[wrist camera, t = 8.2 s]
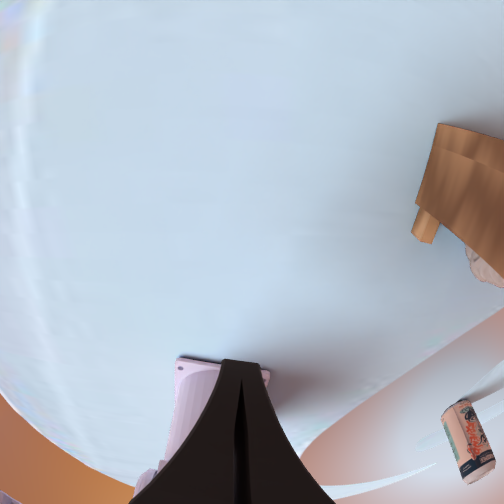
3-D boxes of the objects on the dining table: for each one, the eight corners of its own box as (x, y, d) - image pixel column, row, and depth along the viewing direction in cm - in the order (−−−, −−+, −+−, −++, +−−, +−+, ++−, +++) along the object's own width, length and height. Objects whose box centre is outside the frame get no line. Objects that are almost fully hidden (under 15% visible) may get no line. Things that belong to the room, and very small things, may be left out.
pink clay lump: (467, 163, 16) (537, 197, 10) (512, 209, 17) (569, 249, 11) (426, 236, 18) (481, 294, 12) (476, 270, 20) (523, 322, 13)
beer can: (473, 399, 29) (502, 464, 19) (449, 419, 31) (473, 483, 21) (459, 396, 28) (490, 468, 18) (433, 417, 30) (458, 488, 20)
